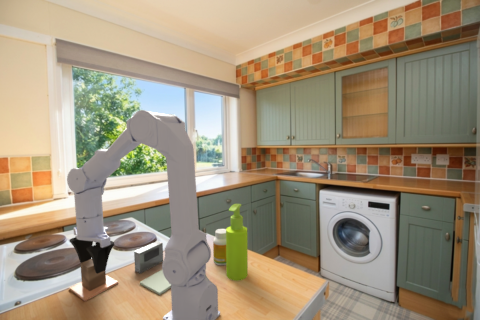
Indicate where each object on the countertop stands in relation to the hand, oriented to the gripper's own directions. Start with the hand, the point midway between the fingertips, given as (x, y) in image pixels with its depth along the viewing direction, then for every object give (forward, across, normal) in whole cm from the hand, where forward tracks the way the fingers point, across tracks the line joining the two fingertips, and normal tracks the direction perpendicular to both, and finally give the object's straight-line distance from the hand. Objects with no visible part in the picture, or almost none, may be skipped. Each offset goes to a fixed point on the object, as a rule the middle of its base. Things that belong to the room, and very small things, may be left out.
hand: (93, 267), depth 61 cm
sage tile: (+5, -13, -11) cm, 18 cm away
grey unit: (+5, -3, -14) cm, 15 cm away
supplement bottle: (+6, -20, -28) cm, 35 cm away
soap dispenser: (+6, -28, -24) cm, 37 cm away
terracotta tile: (+5, 0, 0) cm, 5 cm away
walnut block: (+5, 0, 0) cm, 5 cm away
